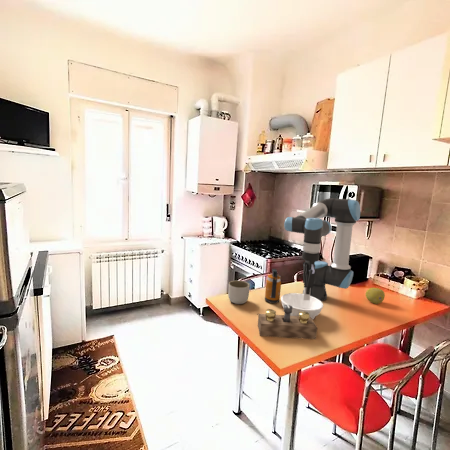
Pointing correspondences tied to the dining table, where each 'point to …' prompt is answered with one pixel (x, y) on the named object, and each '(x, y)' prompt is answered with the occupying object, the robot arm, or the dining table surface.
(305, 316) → the knob
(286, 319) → the pot knob
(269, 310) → the knob
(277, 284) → the canister
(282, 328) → the mount
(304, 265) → the robot arm
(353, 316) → the dining table surface
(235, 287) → the planter
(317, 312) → the bowl
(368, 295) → the fruit
